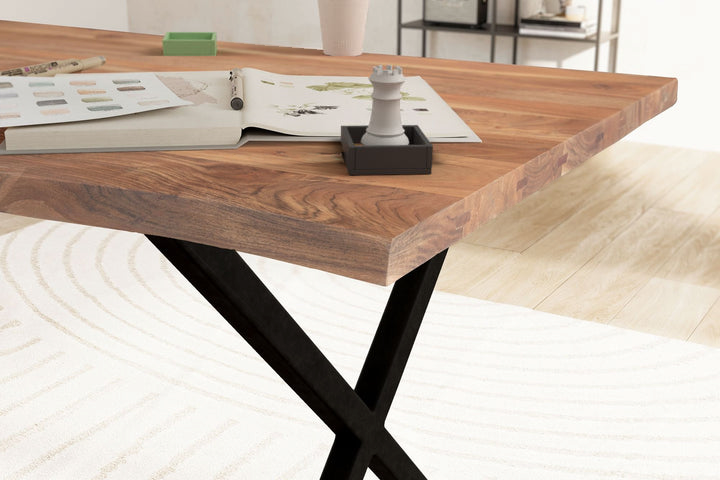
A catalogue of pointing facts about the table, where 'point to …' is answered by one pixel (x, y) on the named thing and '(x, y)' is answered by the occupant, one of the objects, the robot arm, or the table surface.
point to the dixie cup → (343, 26)
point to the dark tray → (386, 153)
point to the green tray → (190, 44)
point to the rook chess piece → (385, 108)
